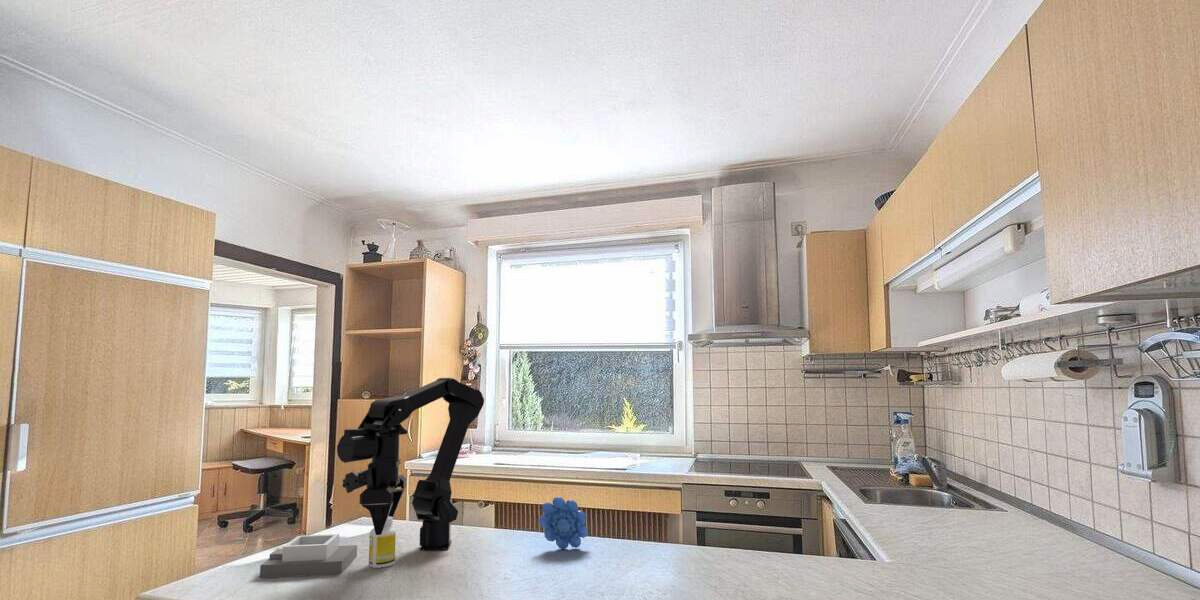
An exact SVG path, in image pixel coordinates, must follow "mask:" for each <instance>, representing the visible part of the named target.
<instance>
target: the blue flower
mask: <svg viewBox="0 0 1200 600" xmlns="http://www.w3.org/2000/svg"><path fill="white" fill-rule="evenodd" d="M541 510H542V512H543V514H542V515H540V516H539V519H538V524H539V526H541V528H544V529H545V530H544V531H543V532H544V533H543V534H544V538H545V539H546V540H547V542H555V544H556V546H557V547H558V549H562V550H566V549H568V547H569V545H570V546H571V548H576V549H577V548H579V547H580V546H581V544H582V540H581V538H582V539H584V538H586V537H587V536H588V534H589V528H588V527H587V526H586V525H585V524H586V523H587V520H588V517H587V514H586V513H585V511H583V510H579V506H578V503H577V502H576V501H575V500H573V499H569V500H567V501H565V500H564V498H562V497H561V496H558V495H557V496H554V497H553V499H552V503H551V502H545V503H543V504H542V508H541Z"/></svg>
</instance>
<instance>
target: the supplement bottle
mask: <svg viewBox="0 0 1200 600" xmlns="http://www.w3.org/2000/svg"><path fill="white" fill-rule="evenodd" d="M393 520H394V516H393V517H390V516H388V518H387V521H386V523H385V526H384V529H383V531H382V534H381V535H376V533H375V529H374V528H372V529H371V530H370V531H369V540H368V541H369V544H368V545H369V548H368V566H369V567H370V568H375V569H376V568H377V569H381V567H383V568H388V567H390V566H393V565H394V564H395V562H396V561H395V560H396V541H397V540H396V539H397V537H396V536H397V535H396V533H397V532H396V531H397V530H396V528H395V527H394V526H392V525H393V522H394V521H393ZM372 526H373V527H374V525H373V524H372ZM387 566H388V567H387Z"/></svg>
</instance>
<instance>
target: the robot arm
mask: <svg viewBox="0 0 1200 600" xmlns="http://www.w3.org/2000/svg"><path fill="white" fill-rule="evenodd" d="M439 399H443V400H444V401H445V402H446V403H448V407H447V409H448V417H449V421H448V424H447V427H446V430H445V433H444V435H443V438H442V440H441V444H440V447H439V448H438V449H439V450H438V452H437V454H436V456H435V457H436V458H435V460H434V462H433V466H432V469H431V471H430V473H429V475H428V476H427V478H426V479H418V481H417V483H416V487H415V490H414V492H413V493H412V495H411V496H412V497H413V498H412V503H411V505H412V506H413V509H414V512H415V515H416V518H417V520H418V521H420V520H421V521H422V524H421V526H420V528H419V547H420V551H436V550H437V551H438V550H449V549H450V546H451V545H452V544H451V543H452V539H451V533H452V531H451V527H452V525H451V523H453V522H454V521H456V520H457V518H458V515H459V514H458V513H459V510H458V509H457V507H456V506H454V505H453V503H452V502H451V497H452V493H453V492H452V487H451V477H452V474H453V473H454V469H455V466H456V463H457V460H458V458H459V454H460V452H461V448H462V446H463V442H464V441H465V437H466V435H467V431H468V429H469V426H470V424H472V423H473V422H474V421H475V420H476V419H477V418H478V416H479V415H480V413H481V410H482V409H483V407H484V403H485V398H484V396H483V393H482V392H481V390H479V389H474V388H473V387H471V386H469V385H466V384H464V383H462V382H459V380H457V379H455V378H453V377H439V378H437V379H436V380H435V381H432V382H430V383H428V384H425V385H423V386H421V387H418V388H417V389H416V388H415V389H414V390H411V391H409V392H407V393H405V394H401V395H398V396H397V395H396V396H391V397H384V398H380V399H376V400H374V401H372V402H371V403H370V406H369V408H368V411H367V413H366V414H365V416H364V418H363V419H362V420H361V422H360V424H359V426H358V427H357V429H355V428H347V429H346V428H345V429H344V430H343V435H342V436H341V437H340V438H339V441H338V444H337V446H336V452H337V456H338V459H339V460H340V461H341V462H342V463H344V464H345V463H346V464H347V463H351V462H358V461H366V460H371V462H369V463H368V464H367V469H364V470H361V471H358V472H356V471H355V470H352V471H351V472H347V473H346V474H345V476H344V478H343V479H342V485H341V487H342V488H344V489H345V490H346V493H347V494H349V493H352V492H353V491H355V490H357V489H360V488H362V487H366V488H365V489H364V490H363V491H362V492H361V493H360V494H359V505H361V506H362V508H365V509H366V510H367V511H368V512H369V513H370V514H369V515H370V517H371V519H372V521H371V522H372V526H373V525H374V526H373V529H375V533H376V535H381V534H382V531H383V529H384V526H385V523H386V521H387V518H388V516H390V517H393V518H394V516H395V513H396V511H397V509H398V507H399V504H400V502H401V499H402V497H403V495H404V493H405V488H406V487H407V478H406V477H405V476H404V475H403V474H399V472H400V471H399V470H400V469H399V466H400V465H401V463H402V462H401V461H402V460H401V459H400V436H401V435H403V436H404V435H407V434H409V433H408V430H407V429H406V428H404V427H403V426H402V424H401V423H403V422H404V421H406V420H407V419H408V418H409V419H410V416H411V414H412V413H414V411H416V410H418V409H420V408H422V407H425V406H427V405H429V404H430V403H433V402H436V401H438V400H439Z"/></svg>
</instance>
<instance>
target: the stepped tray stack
mask: <svg viewBox="0 0 1200 600" xmlns="http://www.w3.org/2000/svg"><path fill="white" fill-rule="evenodd" d="M357 556H358V545H357V544H355V545H340V533H336V534H333V533H332V534H331V533H330V534H312V535H311V534H309V535H296V537H293V539H291V540H290V541H289V542H288V543H286V544H285V545H284V546H282V548H276V549H275V550H273V551H272V552H270V553H269V558H268V559H267V560H266V561H264V562H262V564H260V566H259V578H260V579H263V578H267V579H268V578H283V577H284V578H285V577H303V576H304V577H305V576H323V575H338V574H339V575H341V574H343V573H344V571H346V569H347V568H348V567H349V566H350V565H351V564H352V563H353V561H354V560H356V559H357Z"/></svg>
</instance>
